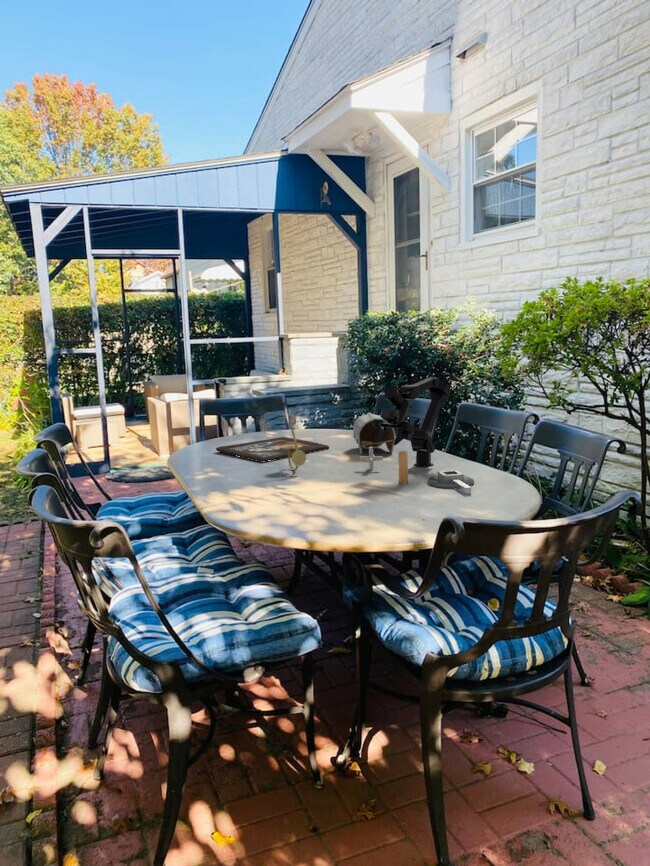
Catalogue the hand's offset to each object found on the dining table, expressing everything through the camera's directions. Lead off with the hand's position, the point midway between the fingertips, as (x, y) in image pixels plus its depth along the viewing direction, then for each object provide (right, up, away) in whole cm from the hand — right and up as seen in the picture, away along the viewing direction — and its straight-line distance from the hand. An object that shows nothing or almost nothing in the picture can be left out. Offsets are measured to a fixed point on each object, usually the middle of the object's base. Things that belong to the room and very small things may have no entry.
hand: (385, 443), depth 265 cm
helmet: (0, -5, +58) cm, 58 cm away
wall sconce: (-38, -12, +20) cm, 45 cm away
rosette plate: (+25, -16, -15) cm, 33 cm away
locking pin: (+6, -15, -8) cm, 19 cm away
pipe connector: (-4, -12, +17) cm, 21 cm away
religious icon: (-52, -5, +67) cm, 85 cm away
